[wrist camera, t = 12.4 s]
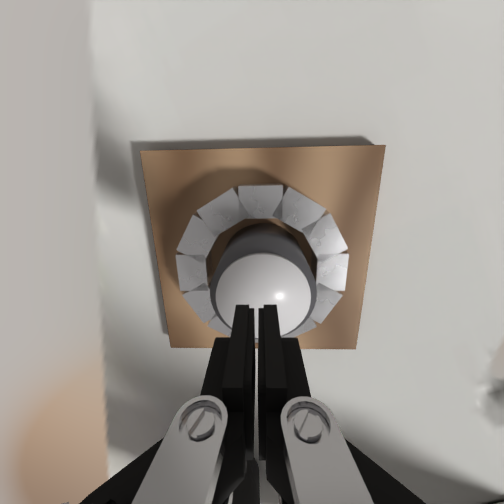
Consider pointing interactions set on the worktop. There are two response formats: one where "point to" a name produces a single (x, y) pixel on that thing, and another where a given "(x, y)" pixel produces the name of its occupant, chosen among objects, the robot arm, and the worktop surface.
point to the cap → (264, 277)
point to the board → (264, 220)
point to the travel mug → (248, 486)
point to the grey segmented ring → (257, 207)
